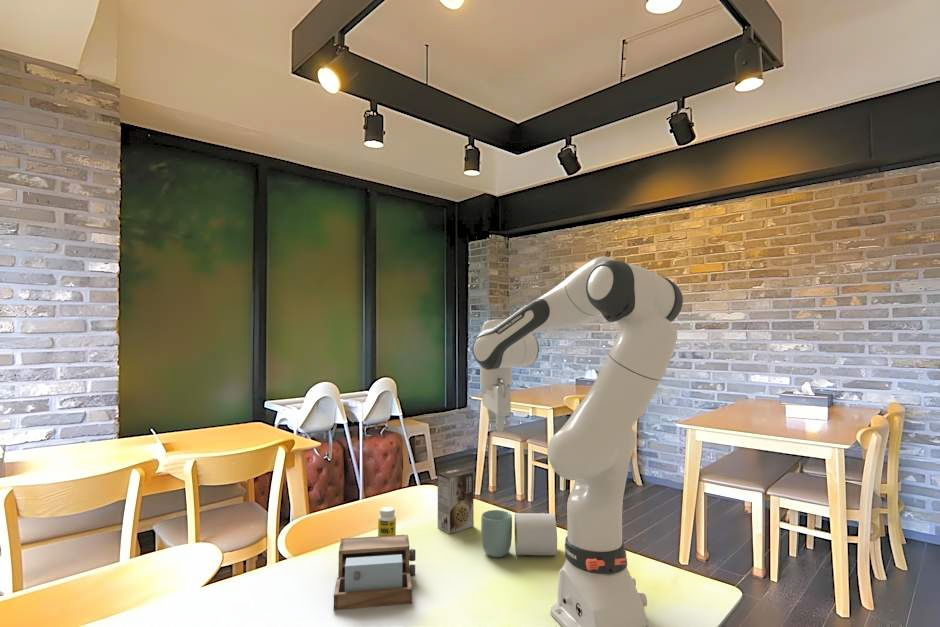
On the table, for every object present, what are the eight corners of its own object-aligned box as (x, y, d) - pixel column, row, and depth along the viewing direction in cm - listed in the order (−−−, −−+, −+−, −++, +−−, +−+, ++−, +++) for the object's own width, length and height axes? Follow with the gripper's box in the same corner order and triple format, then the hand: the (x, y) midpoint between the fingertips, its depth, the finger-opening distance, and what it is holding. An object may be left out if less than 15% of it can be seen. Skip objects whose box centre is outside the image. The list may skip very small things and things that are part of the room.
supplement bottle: (378, 543, 138) (378, 512, 139) (377, 537, 143) (378, 506, 143) (396, 542, 139) (396, 511, 140) (395, 535, 144) (395, 505, 144)
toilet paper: (551, 545, 137) (551, 508, 138) (557, 562, 127) (557, 521, 128) (514, 545, 138) (514, 507, 138) (517, 561, 128) (517, 521, 128)
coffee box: (460, 520, 156) (460, 467, 156) (474, 526, 151) (474, 471, 151) (436, 527, 150) (436, 472, 151) (449, 534, 145) (450, 477, 146)
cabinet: (418, 602, 108) (418, 566, 108) (333, 609, 105) (334, 572, 105) (413, 565, 125) (413, 534, 126) (340, 570, 122) (341, 538, 123)
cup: (500, 563, 126) (500, 522, 127) (475, 555, 131) (475, 515, 132) (517, 553, 133) (517, 513, 133) (492, 545, 137) (492, 507, 138)
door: (402, 602, 108) (402, 564, 108) (344, 607, 106) (344, 568, 106) (401, 591, 113) (401, 554, 113) (345, 595, 111) (346, 558, 111)
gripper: (516, 380, 132) (516, 434, 131) (498, 374, 152) (498, 420, 151) (492, 380, 131) (492, 434, 130) (478, 374, 151) (477, 421, 150)
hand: (495, 427), depth 141 cm, fingers open, 8 cm apart
